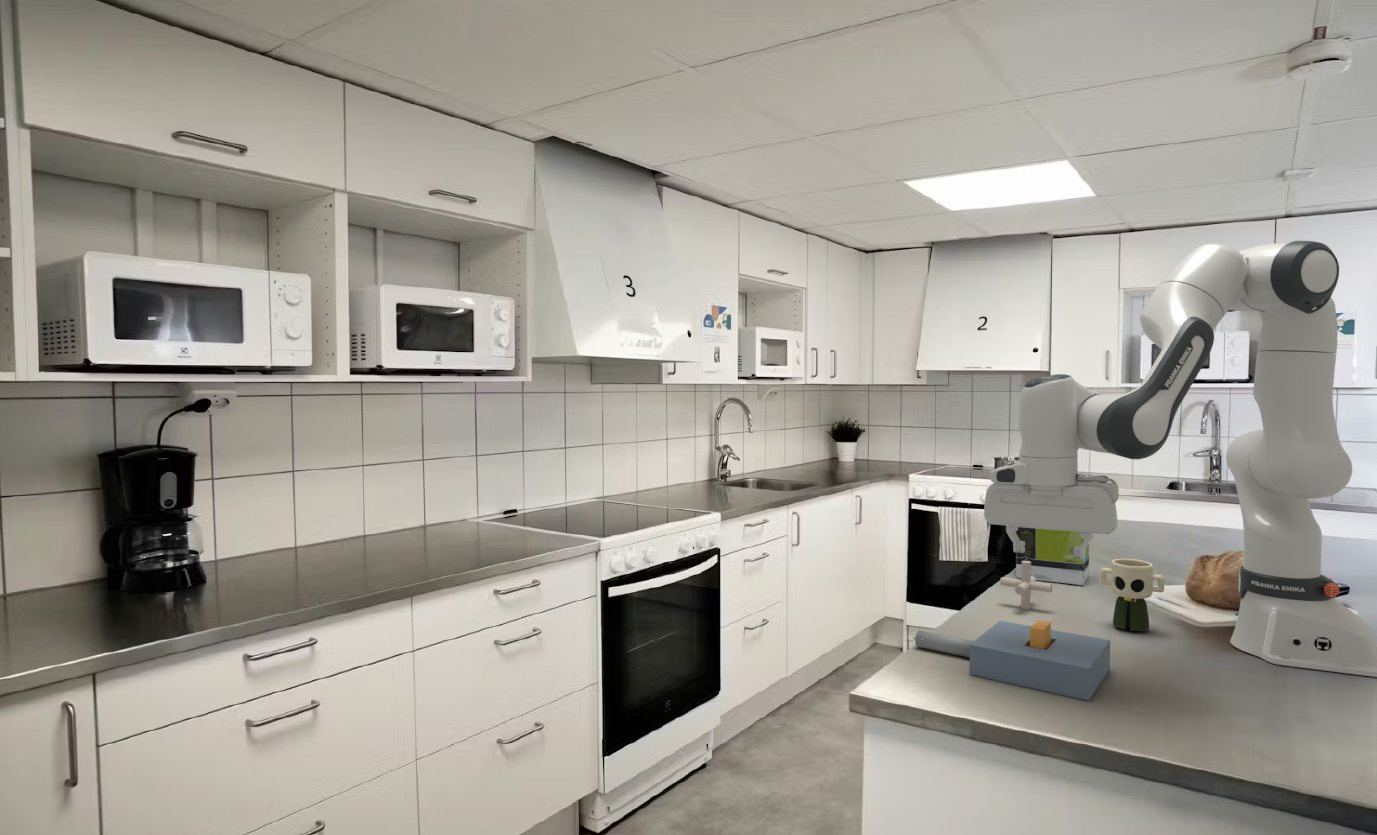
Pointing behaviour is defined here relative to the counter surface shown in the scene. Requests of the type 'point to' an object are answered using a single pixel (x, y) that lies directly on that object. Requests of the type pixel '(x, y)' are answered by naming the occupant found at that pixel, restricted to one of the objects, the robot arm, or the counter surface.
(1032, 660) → the blue holed block
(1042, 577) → the tea box
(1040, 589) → the pipe connector
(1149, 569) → the character mug
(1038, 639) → the orange rectangular block
